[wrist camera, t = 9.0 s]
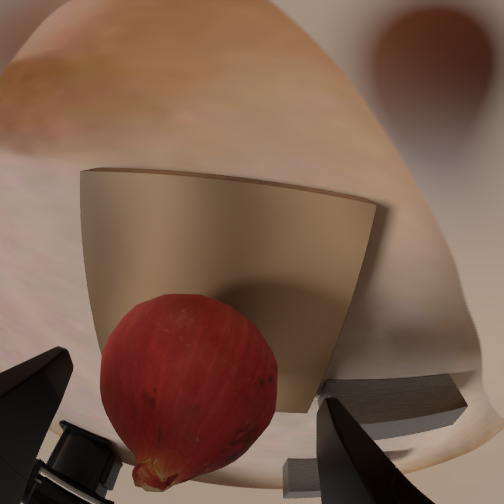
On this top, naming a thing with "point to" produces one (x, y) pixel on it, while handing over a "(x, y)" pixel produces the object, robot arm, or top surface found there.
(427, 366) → the top surface
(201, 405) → the onion
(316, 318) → the tan board
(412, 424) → the twin grey rails
